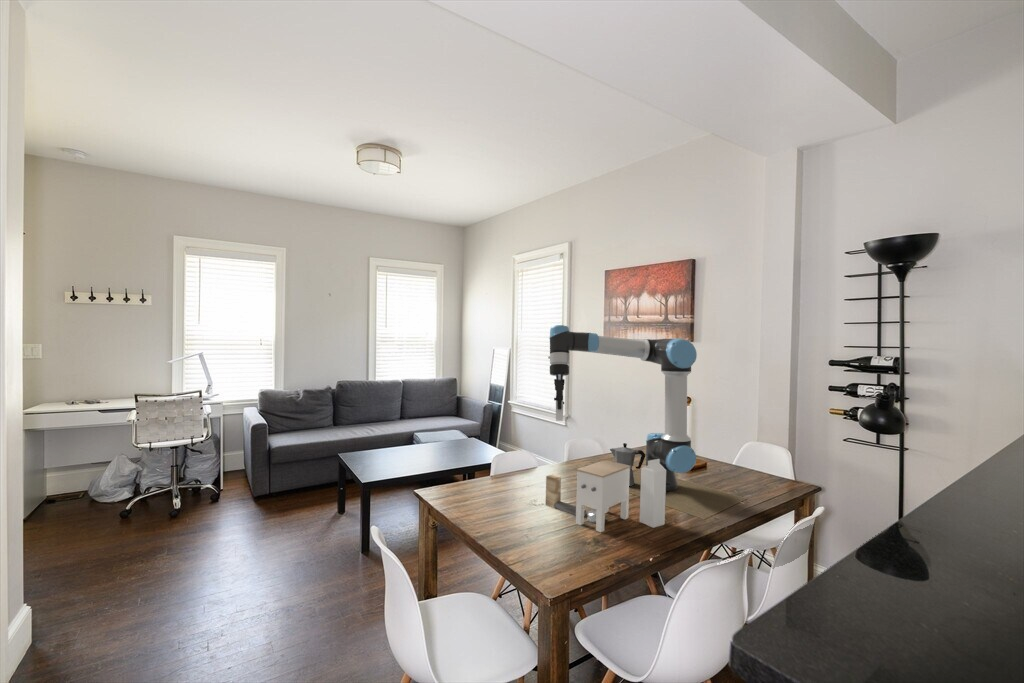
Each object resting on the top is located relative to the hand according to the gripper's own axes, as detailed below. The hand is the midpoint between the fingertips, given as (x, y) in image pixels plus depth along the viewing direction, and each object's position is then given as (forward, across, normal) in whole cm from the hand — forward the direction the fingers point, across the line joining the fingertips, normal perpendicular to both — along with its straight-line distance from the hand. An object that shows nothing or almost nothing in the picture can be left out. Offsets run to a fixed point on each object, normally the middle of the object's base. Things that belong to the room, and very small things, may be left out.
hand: (559, 419), depth 172 cm
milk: (+35, +4, +32) cm, 48 cm away
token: (+35, +5, +13) cm, 37 cm away
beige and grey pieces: (+33, -2, +2) cm, 33 cm away
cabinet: (+35, +6, +15) cm, 38 cm away
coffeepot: (+26, -38, +29) cm, 54 cm away
